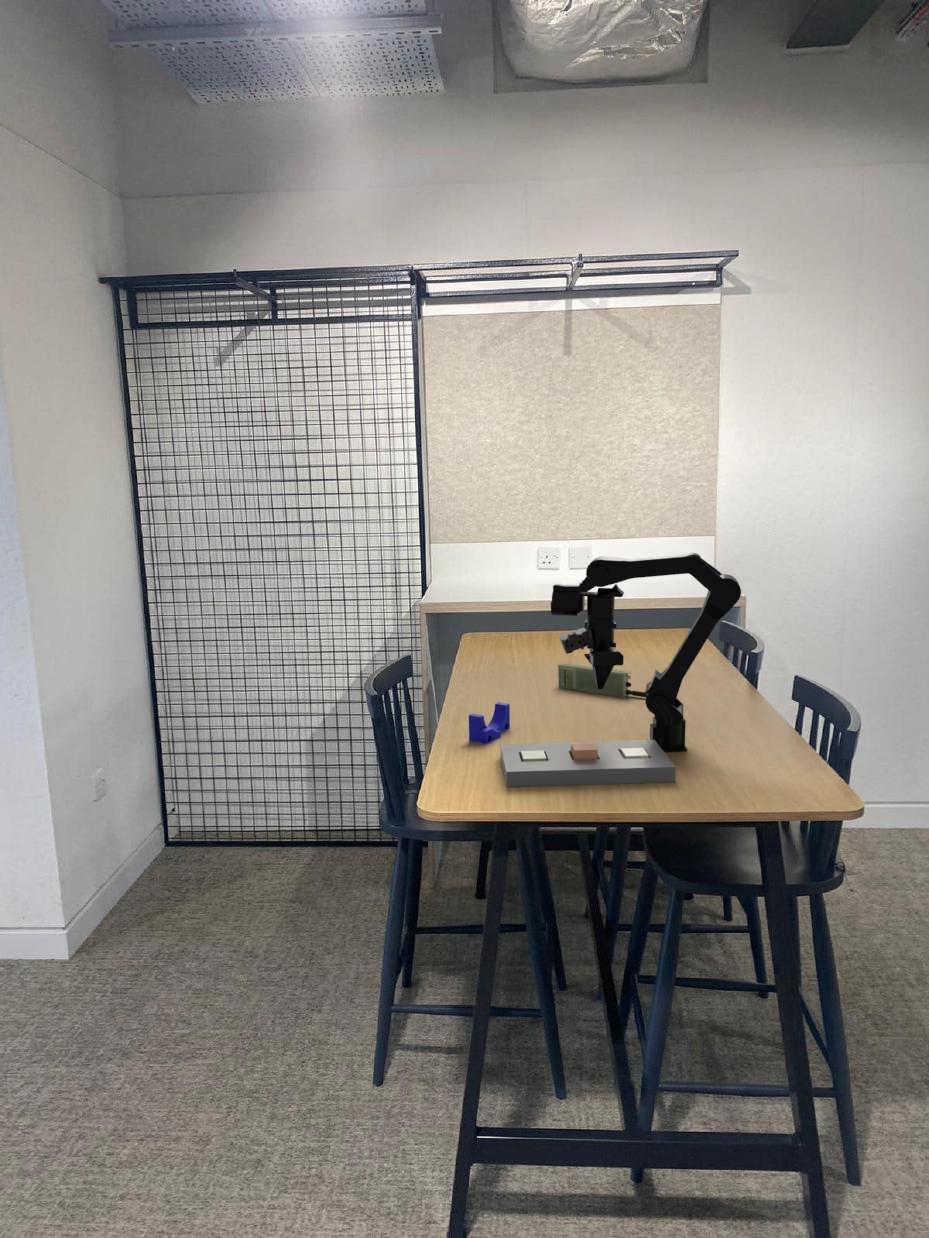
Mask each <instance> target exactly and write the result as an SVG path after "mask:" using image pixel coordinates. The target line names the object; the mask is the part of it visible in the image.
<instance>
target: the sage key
mask: <svg viewBox="0 0 929 1238" xmlns="http://www.w3.org/2000/svg"><path fill="white" fill-rule="evenodd" d="M524 761H546V756H545V753H544V751H521V762H524Z"/></svg>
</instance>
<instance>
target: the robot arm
mask: <svg viewBox="0 0 929 1238" xmlns="http://www.w3.org/2000/svg"><path fill="white" fill-rule="evenodd" d="M685 574H688V575H690V576H692V578H694V579H695V580H697V582H698V583H699V584H701V585H702V586H703V587H704V588H705V589H706V590H707V591H708V592H707V594H706V596H705V599H704V601H703V602H704V603H703V606H702V607H701V611H700V613H699V614H698V616H697V617H696V618H695V619H696V620H695V621H694V623H693V624H692V626H691V627H690V629H689V631H688V632H687V634H686V636H685V638H684V639H683V641H682V642H681V644H680V646H679V647H678V649H677V650H676V652H675V654H674V656H673V657H672V659H671V661H670V662H669V664H668V666H667V667H666V668H665V669H664V670H662V672H659V670H657V669H656V670H655V671H654V672H653V675H652V678H651V679H650V681H649V682H647V683H646V686H645V691H644V692H645V693H646V697H645V701H644V702H645V703H644V704H645V705H646V706H645V707H646V708H647V710H648V712H650V713H652V714H653V716H652V723H650V724H649V740H655V741H656V742H657V744H658V745H659V746H660V747H661V749H662V750H663V751H664V752H678V751H679V752H680V751H684V752H686V751H688V747H687V745H686V725H687V724H686V722H687V721H686V719H685V717H684V703H682V702H681V701H680V700H679V699H678V695H679V691H680V688H681V685H682V683H683V679H684V678H685V676H686V674H687V673H688V671H689V670H690V668H691V666H692V665H693V663H694V661H695V660H696V658H697V656H698V655H699V653H700V652H701V650H702V649H703V647H704V645H705V644H706V642H707V640H708V639H709V637H710V636H711V634H712V632H713V630H714V629H715V627H716V626H717V624H718V623H719V621H721V620H722V619H723V618H724V617H725V616H726V615H727V614H728V613H729V612H730V611H731V610H732V608H733V607H734V606H736V604H737V603H738V602H739V600H740V599H741V597H742V589H741V586H740V583H739V581H738V580H737V578H735V576H733V575H731V574H729V573H728V574H727V573H726V574H725V573H722V572H720V571H719V570H718V569H717V568H716V567H714V566H712V564H711V563H708V562H707V561H706V560H705V559H703V558H702V556H701V555H700V554H698V553H697V552H688V553H686V554H685V553H684V554H677V555H675V554H674V555H666V556H655V557H654V556H653V557H645V558H633V559H631V558H624V557H617V556H598V557H595V558H594V559H593V560H592V561H591V562H590V563H589V564H588V565H587V567H586V572H585V576H586V577H584V578H583V579H582V580H581V581H580V582H579V584H562V583H555V584H553V585H552V594H551V601H550V614H551V616H552V617H576V618H577V617H578V618H579V616H580V614H581V613H584V612H585V605H586V620H585V621H583V627H581V628H577V629H575V630H572V631H569V632H566V633H564V634H562V635H560V636H559V640H560V643H561V645H562V649H563V650H564V653H565V654H566V655H567V654H572V653H573V652H575V651H578V650H584V648H586V649H587V653H584V654H583V655H584V657H585V659H587V661H588V663H590V664H591V667H593V672H594V676H595V681H596V685H597V688H598V689H603V687H604V685H605V683H606V681H607V679H608V677H609V675H610V673H611V671H612V669H614V667H616V666H624V655H623V654H622V653H621V651H620V650H619V649H618V648H617V642H616V641H615V629H617V623H616V622H615V602H616V601H615V600H616V599H615V598H622V597H623V596H624V595H625V592H624V591H623V590H622V589H621V588H620V587H619V585H618V583H621V582H624V581H628V580H632V579H639V578H649V577H650V578H651V577H663V576H665V577H666V576H672V575H673V576H675V575H685ZM611 585H614V586H612V587H607V586H611ZM596 587H597V591H591V590H592V589H594V588H596ZM585 599H586V600H585Z"/></svg>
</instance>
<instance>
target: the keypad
mask: <svg viewBox="0 0 929 1238" xmlns="http://www.w3.org/2000/svg"><path fill="white" fill-rule="evenodd" d="M586 742H587V741H564V742H563V741H562V742H561V741H560V742H530V743H528V742H527V743H525V742H523V743H500V744H499V745H500V746H499V747H500V749H499V750H500V754H499V755H500V756H499V757H500V762H501V766H502V767H501V768H502V772H503V776H504V777H503V778H504V781H505V786H506V788H513V787H514V788H515V787H517V788H518V787H520V788H521V787H547V786H548V787H549V786H552V787H553V786H554V787H555V786H582V785H583V786H585V785H587V786H588V785H617V784H618V785H619V784H621V785H622V784H650V783H675V782H676V771H677V770H676V765H675V764H674V763H673V762H672V761H671V759H670V758H669V757H668V755H667V754H666V753H665V751H663V750H662V749H661V747H660V746H659V745H658V744H657V742H656V741H655V740H650V739H638V740H637V739H635V740H634V739H631V740H604V741H603V740H599V741H592V742H594V744H595V746H596V748H597V750H598V759H593V760H574V758H573V756H572V754H571V743H586ZM621 748H644V750H645V751H646V753H647V754H648V755H649V758H628V759H624V758H623V757H622V755H621ZM521 751H544V753H545V756H546V761H524V762H521Z"/></svg>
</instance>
